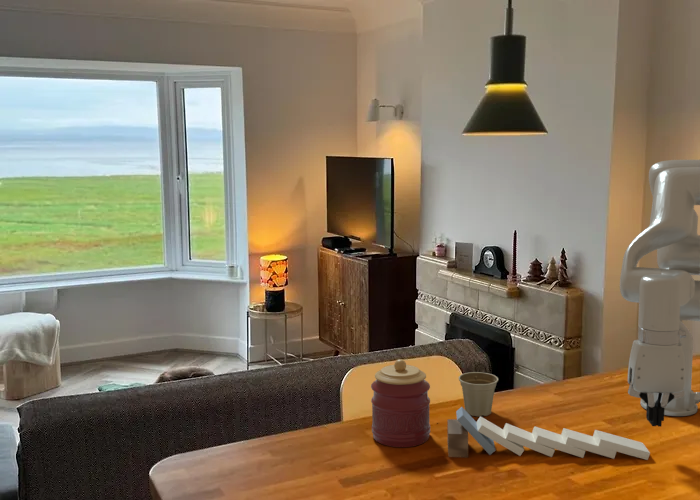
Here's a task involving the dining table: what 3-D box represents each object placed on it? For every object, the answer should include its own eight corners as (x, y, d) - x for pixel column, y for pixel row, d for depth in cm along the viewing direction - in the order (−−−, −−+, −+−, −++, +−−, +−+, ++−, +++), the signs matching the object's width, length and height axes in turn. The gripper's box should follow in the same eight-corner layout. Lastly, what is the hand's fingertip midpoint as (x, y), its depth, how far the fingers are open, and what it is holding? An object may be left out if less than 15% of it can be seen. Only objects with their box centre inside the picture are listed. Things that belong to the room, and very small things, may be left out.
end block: (466, 441, 150) (466, 419, 149) (468, 457, 142) (468, 434, 141) (447, 441, 150) (447, 419, 150) (448, 456, 142) (448, 433, 142)
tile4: (550, 440, 146) (505, 422, 147) (554, 450, 141) (508, 432, 142) (547, 447, 146) (503, 429, 147) (551, 457, 141) (505, 438, 142)
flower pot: (498, 420, 162) (498, 385, 161) (457, 418, 164) (457, 383, 162) (497, 406, 171) (498, 372, 170) (459, 404, 173) (459, 371, 172)
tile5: (521, 440, 147) (480, 416, 147) (524, 449, 142) (481, 425, 142) (517, 446, 147) (476, 422, 147) (520, 456, 142) (477, 431, 143)
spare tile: (489, 455, 143) (457, 419, 143) (487, 445, 148) (456, 411, 148) (495, 450, 143) (462, 415, 143) (493, 440, 148) (461, 406, 147)
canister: (437, 430, 157) (437, 354, 154) (419, 452, 145) (418, 371, 143) (384, 422, 162) (383, 349, 160) (362, 443, 150) (361, 364, 148)
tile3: (580, 441, 145) (534, 426, 146) (585, 450, 141) (537, 435, 141) (577, 447, 146) (531, 433, 146) (583, 458, 141) (535, 442, 142)
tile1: (642, 442, 144) (594, 429, 145) (650, 452, 139) (600, 439, 140) (640, 449, 144) (592, 436, 145) (647, 460, 139) (598, 446, 140)
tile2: (610, 441, 145) (563, 427, 146) (616, 451, 140) (567, 437, 141) (608, 448, 145) (561, 434, 146) (614, 458, 140) (565, 444, 141)
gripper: (690, 332, 141) (686, 418, 144) (614, 331, 143) (612, 416, 145) (704, 341, 134) (700, 432, 136) (624, 340, 136) (621, 430, 138)
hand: (654, 423), depth 141 cm, fingers closed
